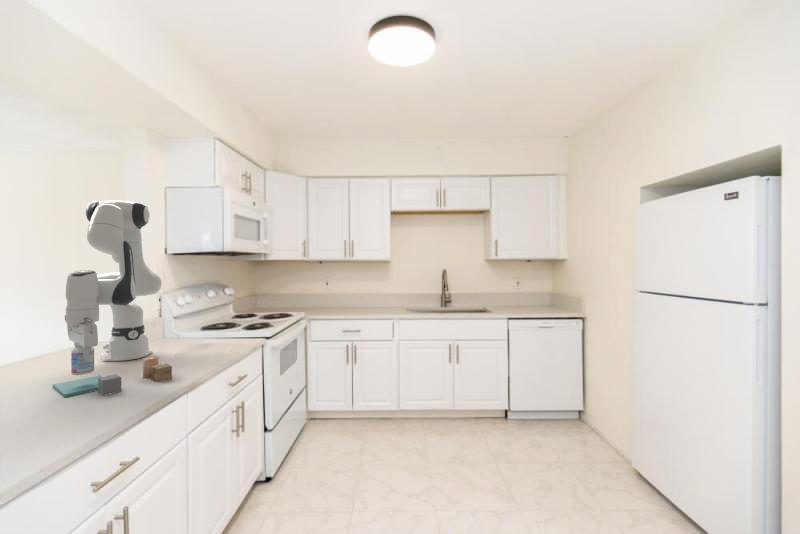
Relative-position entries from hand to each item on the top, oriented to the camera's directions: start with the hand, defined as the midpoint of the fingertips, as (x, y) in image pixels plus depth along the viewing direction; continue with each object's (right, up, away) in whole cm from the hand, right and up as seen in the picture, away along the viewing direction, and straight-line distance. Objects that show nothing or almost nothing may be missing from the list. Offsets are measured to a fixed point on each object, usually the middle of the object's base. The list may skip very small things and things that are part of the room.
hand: (83, 356), depth 128 cm
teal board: (0, -11, 0) cm, 11 cm away
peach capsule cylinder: (+15, -11, +12) cm, 22 cm away
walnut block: (+22, -11, +9) cm, 26 cm away
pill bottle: (0, -6, 0) cm, 6 cm away
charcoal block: (+13, -11, -4) cm, 17 cm away
